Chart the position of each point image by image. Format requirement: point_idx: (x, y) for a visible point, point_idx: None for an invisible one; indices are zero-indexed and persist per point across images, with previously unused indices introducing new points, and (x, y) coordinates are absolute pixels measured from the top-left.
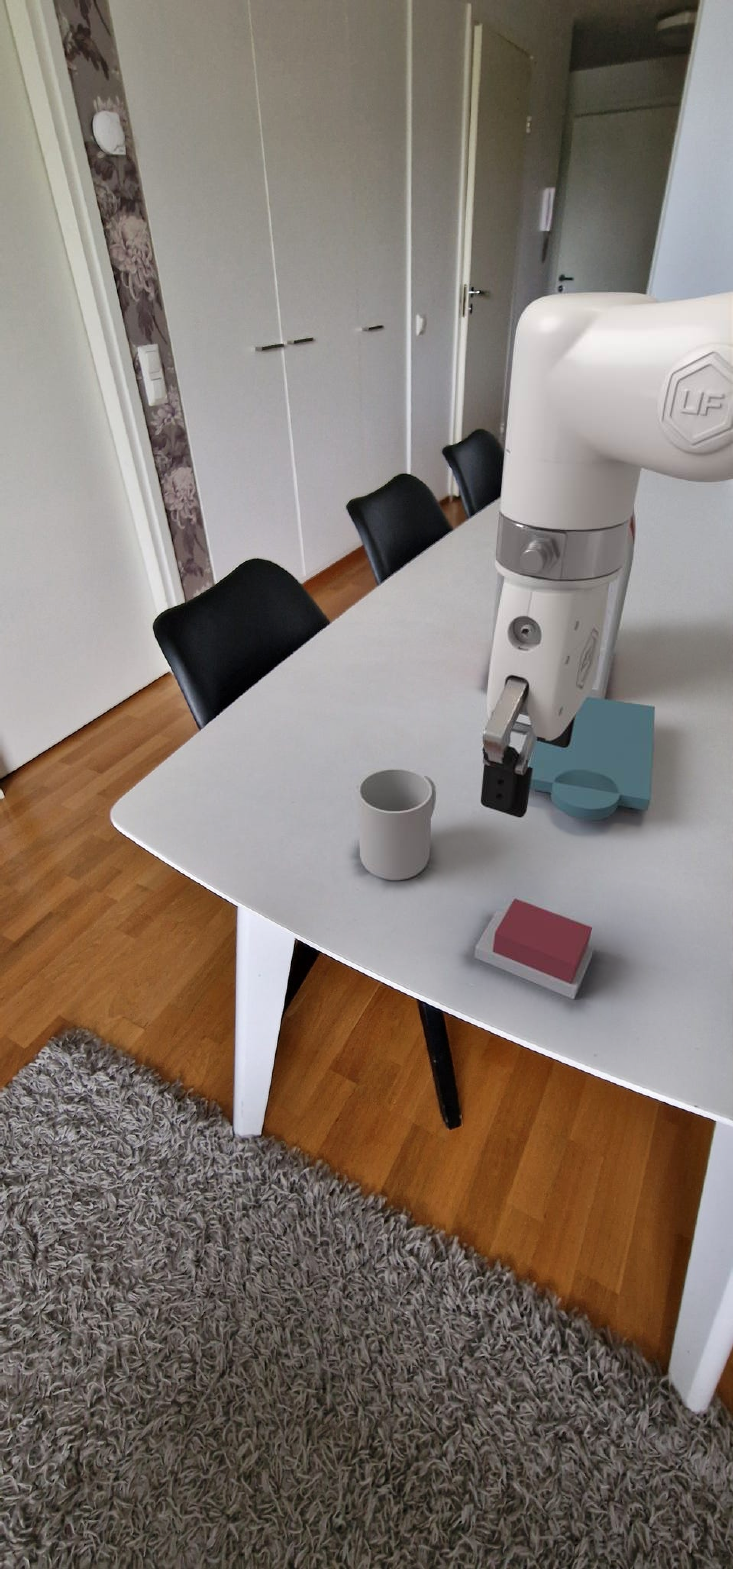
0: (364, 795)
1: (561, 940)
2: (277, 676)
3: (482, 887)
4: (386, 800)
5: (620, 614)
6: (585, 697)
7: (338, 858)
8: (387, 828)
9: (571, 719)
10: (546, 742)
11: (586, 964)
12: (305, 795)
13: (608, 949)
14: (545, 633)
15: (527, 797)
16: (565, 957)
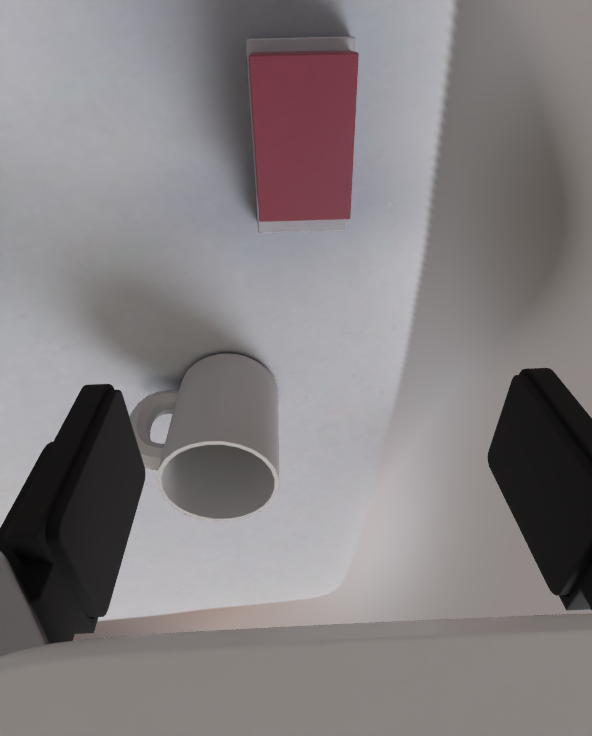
0: (230, 495)
1: (313, 103)
2: None
3: (206, 270)
4: (192, 463)
5: None
6: (199, 671)
7: None
8: (275, 445)
9: (506, 642)
10: (133, 436)
11: (293, 38)
12: None
13: (206, 11)
14: None
15: (577, 412)
16: (350, 80)
